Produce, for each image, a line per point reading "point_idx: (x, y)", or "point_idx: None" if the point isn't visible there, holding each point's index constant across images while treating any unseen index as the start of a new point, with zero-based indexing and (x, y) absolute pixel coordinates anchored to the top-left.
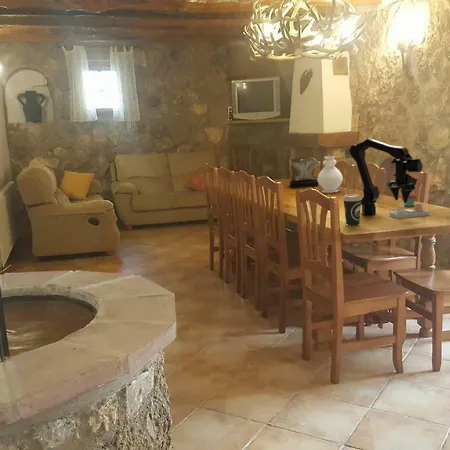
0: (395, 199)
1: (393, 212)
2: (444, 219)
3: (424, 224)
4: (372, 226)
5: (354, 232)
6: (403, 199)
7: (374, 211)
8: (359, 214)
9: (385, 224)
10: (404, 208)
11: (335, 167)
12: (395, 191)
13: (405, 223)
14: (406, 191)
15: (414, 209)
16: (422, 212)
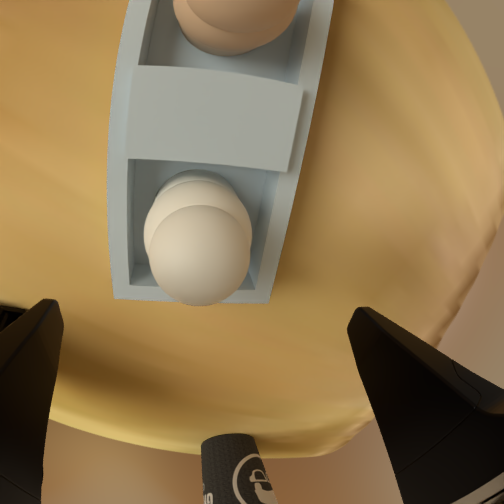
0: (58, 341)
1: (129, 268)
2: (455, 23)
3: (461, 219)
4: (307, 411)
5: (329, 443)
6: (371, 382)
7: (4, 327)
8: (262, 474)
9: (319, 371)
10: (230, 215)
11: None
12: (11, 470)
13: (382, 288)
14: (473, 457)
15: (233, 47)
16: (328, 25)
